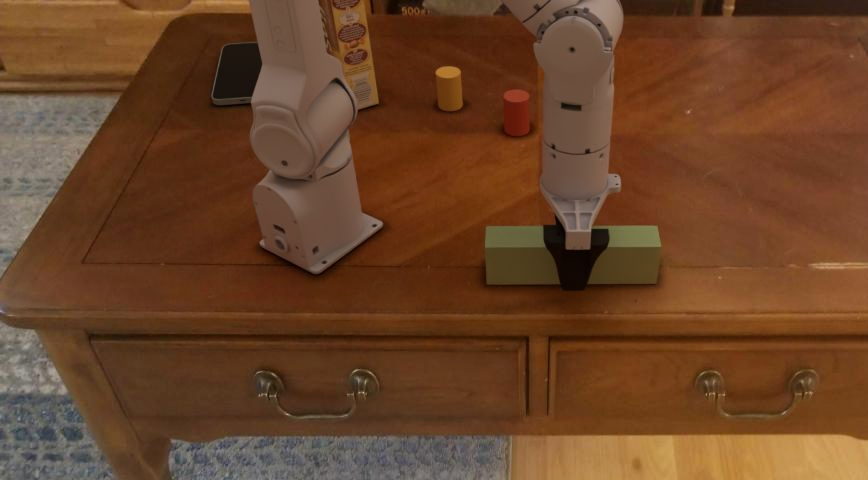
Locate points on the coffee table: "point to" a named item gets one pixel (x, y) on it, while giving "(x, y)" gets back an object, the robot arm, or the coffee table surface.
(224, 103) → the smartphone
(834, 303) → the coffee table surface
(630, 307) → the coffee table surface
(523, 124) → the cylinders
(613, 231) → the bar
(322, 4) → the candy box
